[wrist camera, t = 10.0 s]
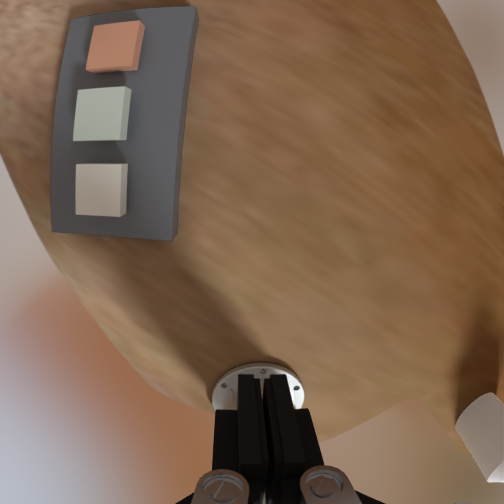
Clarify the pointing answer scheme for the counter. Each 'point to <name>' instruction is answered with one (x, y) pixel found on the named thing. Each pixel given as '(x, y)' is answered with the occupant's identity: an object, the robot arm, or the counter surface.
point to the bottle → (485, 434)
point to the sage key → (102, 114)
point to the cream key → (101, 189)
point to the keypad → (139, 125)
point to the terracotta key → (115, 47)
